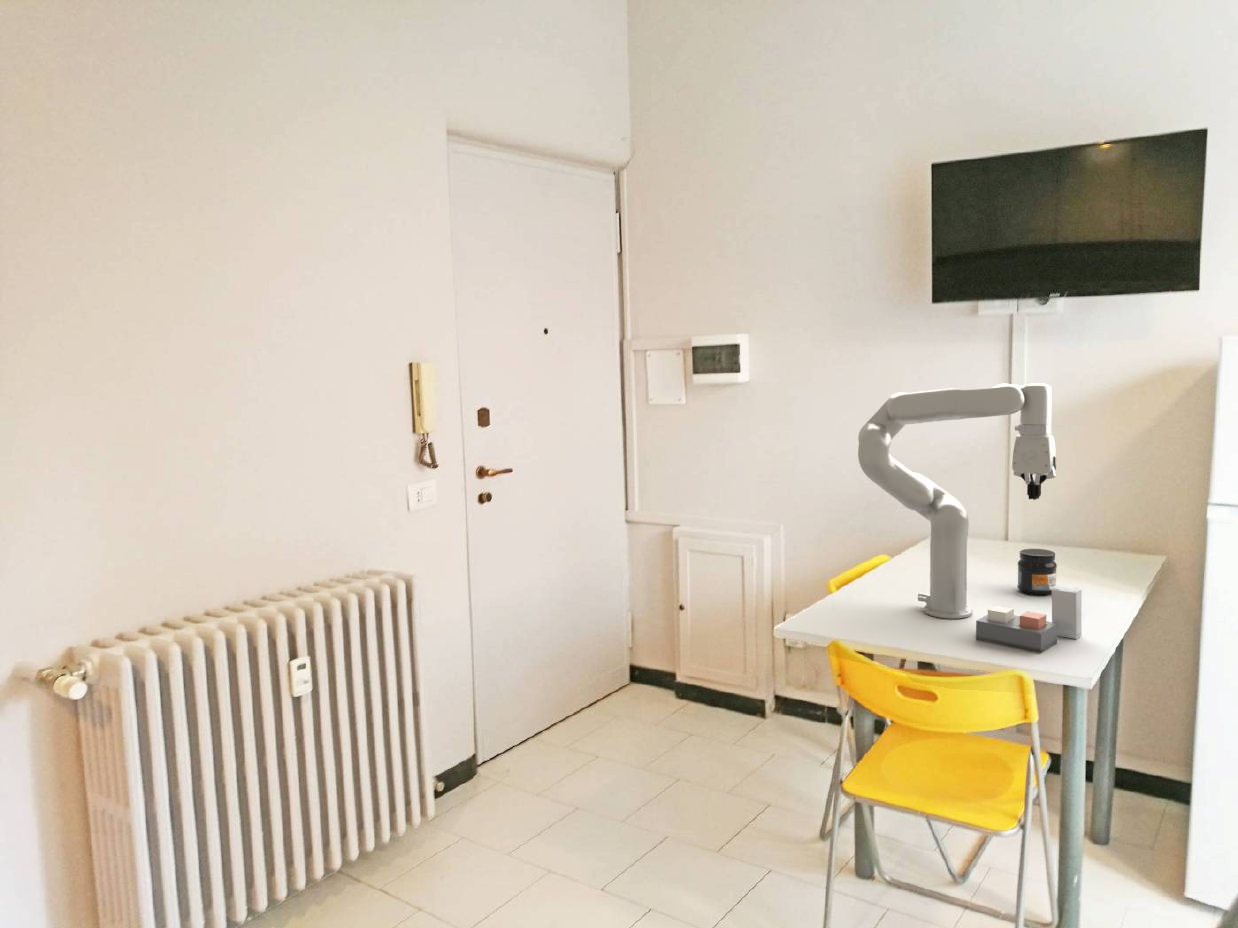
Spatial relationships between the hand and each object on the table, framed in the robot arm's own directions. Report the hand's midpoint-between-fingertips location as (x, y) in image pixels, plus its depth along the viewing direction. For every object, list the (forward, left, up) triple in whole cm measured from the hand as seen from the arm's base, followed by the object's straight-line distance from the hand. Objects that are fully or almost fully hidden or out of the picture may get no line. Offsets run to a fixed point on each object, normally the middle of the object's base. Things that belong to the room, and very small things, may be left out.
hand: (1033, 498), depth 246 cm
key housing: (+6, -24, -32) cm, 41 cm away
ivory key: (+2, -24, -29) cm, 38 cm away
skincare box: (+13, -12, -32) cm, 37 cm away
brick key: (+10, -24, -29) cm, 39 cm away
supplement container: (-8, +23, -32) cm, 41 cm away
